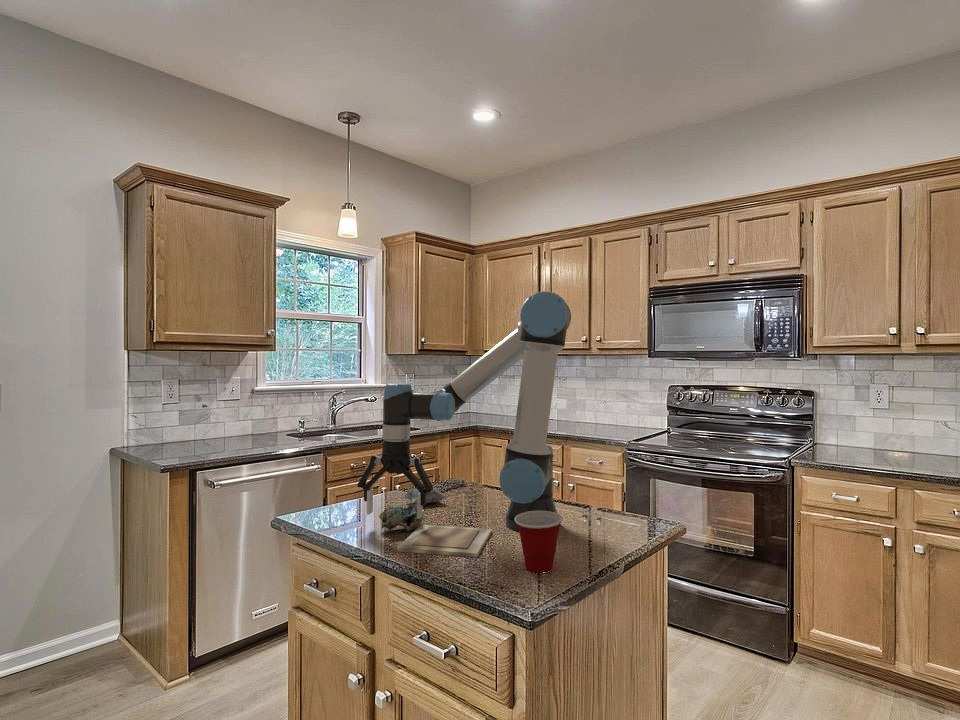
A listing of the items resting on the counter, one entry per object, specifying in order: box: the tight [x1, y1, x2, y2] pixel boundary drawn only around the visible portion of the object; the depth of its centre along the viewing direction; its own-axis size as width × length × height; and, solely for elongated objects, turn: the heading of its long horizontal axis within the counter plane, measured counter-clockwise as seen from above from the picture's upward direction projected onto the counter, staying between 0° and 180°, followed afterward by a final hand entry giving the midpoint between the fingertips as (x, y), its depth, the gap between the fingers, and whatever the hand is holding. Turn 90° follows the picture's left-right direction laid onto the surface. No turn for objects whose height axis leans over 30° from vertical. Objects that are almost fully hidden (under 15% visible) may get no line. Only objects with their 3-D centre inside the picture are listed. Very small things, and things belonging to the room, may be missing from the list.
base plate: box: [396, 524, 493, 558], centre depth 149 cm, size 20×20×1 cm
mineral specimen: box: [378, 503, 424, 532], centre depth 159 cm, size 12×9×8 cm
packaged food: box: [404, 487, 448, 505], centre depth 187 cm, size 9×12×5 cm
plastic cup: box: [514, 511, 563, 574], centre depth 129 cm, size 11×11×12 cm
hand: (394, 516), depth 159 cm, fingers open, 14 cm apart
